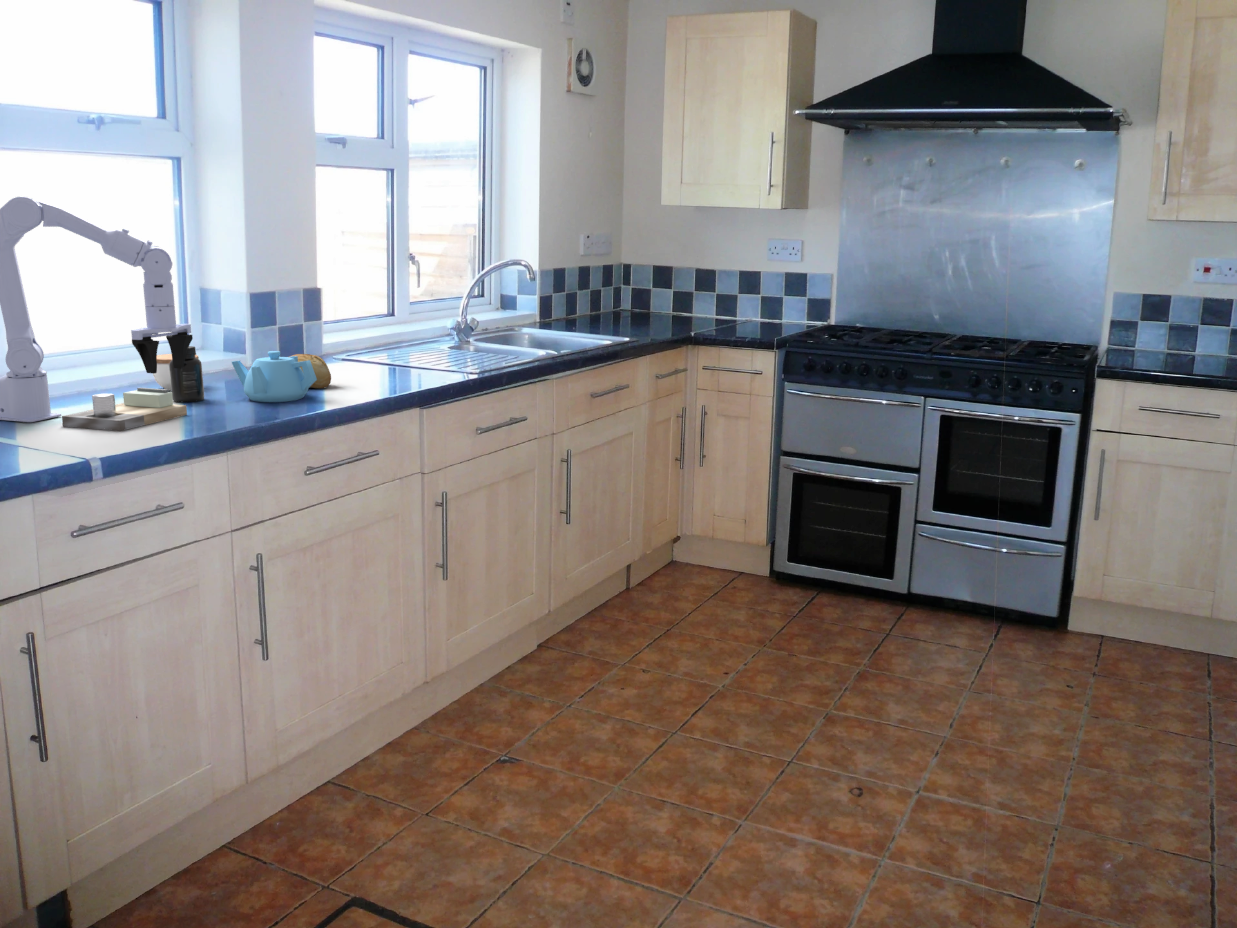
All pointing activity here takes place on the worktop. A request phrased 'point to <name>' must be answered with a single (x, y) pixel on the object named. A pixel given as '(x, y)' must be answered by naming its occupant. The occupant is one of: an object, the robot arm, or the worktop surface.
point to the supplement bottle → (187, 379)
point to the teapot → (276, 378)
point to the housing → (124, 417)
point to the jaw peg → (104, 405)
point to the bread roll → (317, 370)
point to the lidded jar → (164, 370)
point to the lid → (148, 398)
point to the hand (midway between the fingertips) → (165, 370)
